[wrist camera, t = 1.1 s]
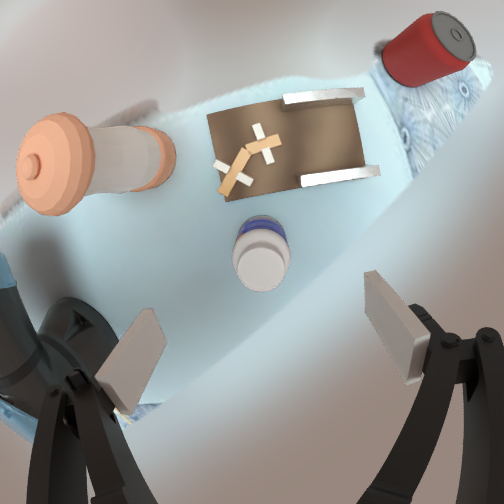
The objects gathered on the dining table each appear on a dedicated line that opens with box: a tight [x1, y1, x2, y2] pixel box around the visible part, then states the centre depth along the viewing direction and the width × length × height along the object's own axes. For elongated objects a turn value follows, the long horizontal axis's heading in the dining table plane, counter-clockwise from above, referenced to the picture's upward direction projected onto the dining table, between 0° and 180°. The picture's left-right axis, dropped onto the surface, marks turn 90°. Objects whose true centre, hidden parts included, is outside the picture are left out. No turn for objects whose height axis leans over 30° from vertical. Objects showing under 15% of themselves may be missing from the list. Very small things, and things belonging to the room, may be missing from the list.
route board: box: [207, 99, 367, 202], centre depth 27 cm, size 16×10×1 cm, turn 102°
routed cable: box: [213, 123, 282, 197], centre depth 26 cm, size 8×7×2 cm
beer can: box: [383, 11, 476, 87], centre depth 17 cm, size 7×7×12 cm
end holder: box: [281, 87, 381, 187], centre depth 24 cm, size 8×9×4 cm
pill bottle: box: [232, 216, 290, 292], centre depth 27 cm, size 5×5×10 cm
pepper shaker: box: [16, 112, 176, 216], centre depth 20 cm, size 7×7×19 cm
